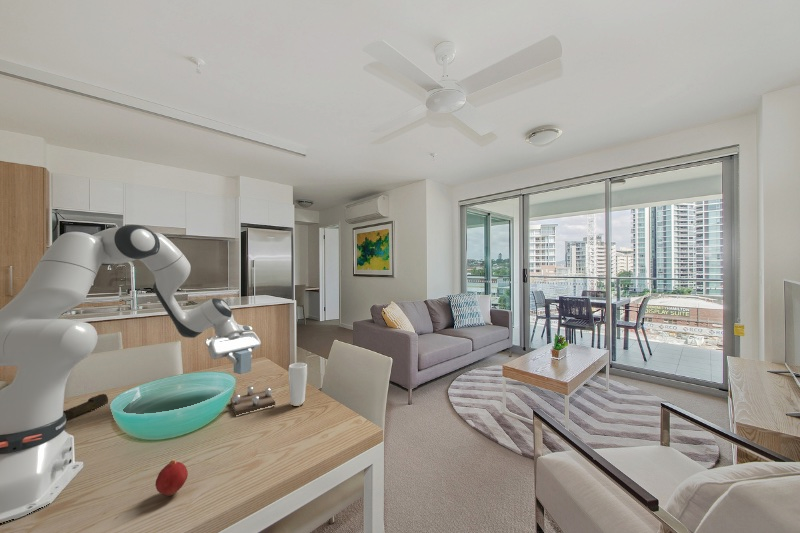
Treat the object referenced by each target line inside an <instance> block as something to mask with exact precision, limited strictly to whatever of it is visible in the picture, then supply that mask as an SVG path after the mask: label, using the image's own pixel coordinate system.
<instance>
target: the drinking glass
mask: <svg viewBox="0 0 800 533" xmlns="http://www.w3.org/2000/svg"><path fill="white" fill-rule="evenodd" d="M307 378H308V364H307V363H305V362H295V363H291V364H289V366H288V386H289V388H288V390H289V405H290V404H292V405H299V404H302V403H303V402H304V401H305V400H306V390H307V389H306V388H307V380H308V379H307Z"/></svg>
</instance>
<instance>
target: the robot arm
mask: <svg viewBox="0 0 800 533" xmlns="http://www.w3.org/2000/svg"><path fill="white" fill-rule="evenodd" d="M137 260H138V261H140V262H142V263H143V264H144V265H145V266H146V268H147V269H149V271H150V272H151V273H152V274H153V276H154V281H155V282H154V283H153V286H152V287H153V291H154V293H155V295H156V297H157V299H158V300H159V302H160V303H161V306H162V307H163V308H164V310H165V312H166V313H167V315H168V316H169V317H170V319H171V321H172V323H173V324H174V326H175V329H176V330H177V332H178V334H180V335H181V336H182V337H183V338H187V339H192V338H193V339H195V338H197V337H198V336H199V335H201V334H202V333H203V332H205V331H206V330H208V329H209V328H213V329H214V334H215V336H212V337H208V338H207V339H205V342H204V343H205V346H206V347H207V350H208V353H209V356H210V358H211V359H212V360H217V359H222V358H226V359H227V360H229V361H231V362H232V364H233V365H234V364H237V363H238V362H239V360H238V358H235V357H234V352H238V351H243V350H247V351H251V353H252V352H253V351H255V350H258V349H259V348H260V346H261V344H262V342H261V339H260V338H259V336H258V335H257V333H256V332H255V331H253V327H252V326H249V325H244V324H243V325H242V324H238V322H237V321H236V319H235V317H234V315H233V313H232V312H233V311H232V309H231V307H230V306H229V304H228V303H227V302H226V301H225V300H223V299H220V298H216V297H215V298H211V299H209V300H207V301H205V302H203V303H202V304H200V305H198V306H196V307H195V308H193V309H190V310H189V311H184V310H183V308H182V307H181V305H180V304H179V303H178V302H177V300H176V297H175V293H176V292H177V290H178V289H179V288H180V287H181V286H182V285H183V284H184V283H185V281H187V279H188V277H189V276H190V274H191V268H192V267H191V263H190V262H189V260H188V259H187V257H186V256H185V255H184V253H183V252H182V251H181V250H180V249H179V248H178V247H177V245H175V244H174V243H173V242H172V241H171V240H170V239H169V238H167V237H166V236H165V235H164V234H162V233H160V232H153V231H152V230H151V229H149V228H148V227H146V226H145V225H144V226H143V225H139V224H126V225H123V226H117V227H109V228H106V229H104V230H100V231H98V232H93V233H91V234H89V233H87V232H81V231H68V232H65V233H63V234H60V236H58V237H57V238H56V239H55V240H54V241H53V243H52V244H50V245H49V247H48V248H47V249H46V251H45V252H44V254H43V255H42V257H41V258H40V260H39V261H38V263H37V265H36V266H35V269H34V270H33V272H32V273H31V275H30V276H29V278H28V280H27V281H26V283H25V284H24V286H23V288H22V289H21V290H20V291H19V293H17V294H16V295H15V296H14V298H12V300H10V301H9V302H8V303H6V305H4V306H3V307H2V308H1V309H0V367H13V366H14V367H17V371H16V374H15V376H14V379H13V380H12V382H11V383H10V384H9V385H6V386H5V387H3V388H1V389H0V522H1V521H8V520H11V519H14V520H17V519H19V518H22V517H24V516H28V515H30V514H32V513H33V512H32V511H34V510H36V509H38V508H41V507H43V508H45V507H47V506H48V505H47V504H49V503H50V504H51V503H52V502H54V500H55V499H56V498H58V496H59V494H61V492H62V491H63V490H64V489H65V488H66V487H67V486H68V485H69V483H71V482H72V480H73V479H74V478H75V477H76V475H78V473H80V472H81V470H82V469H83V468H84V462H83V461H75V439H74V438H75V436H74V435H72V434H70V433H68V432H67V431H66V430H65V429H66V423H67V420H66V415H65V413H63V411H64V404H65V403H64V401H65V394H66V393H65V392H66V385H67V381H68V379H69V377H70V374H71V372H72V371H73V370H74V369H75V367H76V366H77V365H78V364H79V363H80V362H81V361H83V360H84V359H85V358H87V357H89V355H91V353H93V351H95V349H96V346H97V344H98V340H99V339H98V338H99V337H98V332H97V330H96V328H95V327H94V325H92V324H91V323H89V322H85V321H79V320H75V319H69V318H60V316H62V315H63V314H64V313H66V312H68V311H69V310H70V309H74V308H75V307H77V306H80V305H81V304H82V303H83V302H84V301H85V300H86V299H87V296H88V294H89V291H90V290H91V287H92V285H93V283H94V281H95V279H96V277H97V274H98V272H99V270H100V267H101V266H111V265H115V264H116V265H117V264H124V263H129V262H133V261H137ZM251 360H253V355H252V354H251ZM50 504H49V505H50ZM46 505H47V506H46ZM44 506H45V507H44ZM41 509H42V508H41ZM31 512H32V513H31ZM29 513H30V514H29ZM27 514H28V515H27ZM11 521H12V520H11ZM8 522H9V521H8Z"/></svg>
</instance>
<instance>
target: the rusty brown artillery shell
mask: <svg viewBox="0 0 800 533" xmlns="http://www.w3.org/2000/svg"><path fill="white" fill-rule="evenodd" d="M108 403H109V397H108V395H107V394H106V393H101V394H97V395H95V396H91V397H90V398H89V399H88V400H87V401H86V402H83V403H81V404H78V405H76V406H73V407H71V408H68V409H66V410H63V413H65V415H66V421H68V420H69V421H70V420H71V419H73V418H76V417H78V416H80V415H83V414H84V413H88V412H92V411H91V410H94V411H96V410H98V409H97V408H99V407H101V406H103V405H104V406H106V405H108ZM105 404H106V405H105ZM104 406H103V407H104ZM101 408H102V407H101ZM95 409H96V410H95ZM99 409H100V408H99Z"/></svg>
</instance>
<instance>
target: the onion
mask: <svg viewBox="0 0 800 533" xmlns="http://www.w3.org/2000/svg"><path fill="white" fill-rule="evenodd" d="M188 473H189V472H188V469H187V466H186V465H185V464H183V463H181V462H180V461H176V459H175V458H174V459H171V461H170V462H168V463H167V464H166V465H165V466H164V467H163V468H162V469H161V470H160V472H158V475H157V478H156V480H155V485H154V486H155V489H156V491H157V492H158V493H159V494H161V495H165V496H170V495H172V496H174V495H175V494H176V493H177V492H178V491H179V490H180V489H181V488H182V487H183V486H184V485H185V483H186V481H187V480H188V475H189V474H188ZM173 494H174V495H173ZM170 497H171V496H170Z"/></svg>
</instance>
